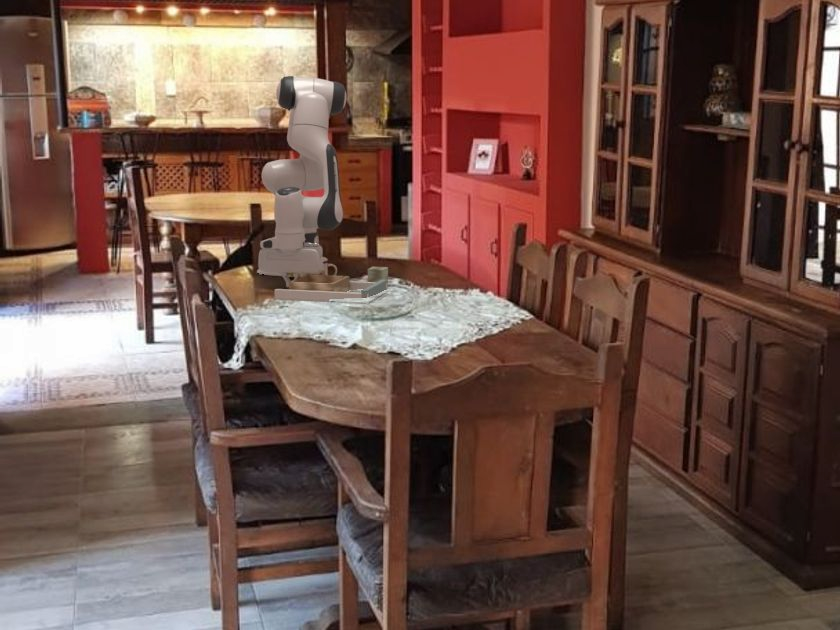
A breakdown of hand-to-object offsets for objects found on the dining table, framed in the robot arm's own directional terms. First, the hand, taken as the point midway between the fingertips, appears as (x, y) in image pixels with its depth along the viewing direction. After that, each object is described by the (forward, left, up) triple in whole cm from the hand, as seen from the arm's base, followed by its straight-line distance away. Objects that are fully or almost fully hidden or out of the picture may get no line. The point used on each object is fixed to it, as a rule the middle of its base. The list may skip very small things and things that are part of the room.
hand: (291, 287), depth 327 cm
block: (+21, +18, -3) cm, 28 cm away
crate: (+9, 0, -2) cm, 9 cm away
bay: (+13, 0, -3) cm, 13 cm away
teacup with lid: (+1, +18, -3) cm, 18 cm away
